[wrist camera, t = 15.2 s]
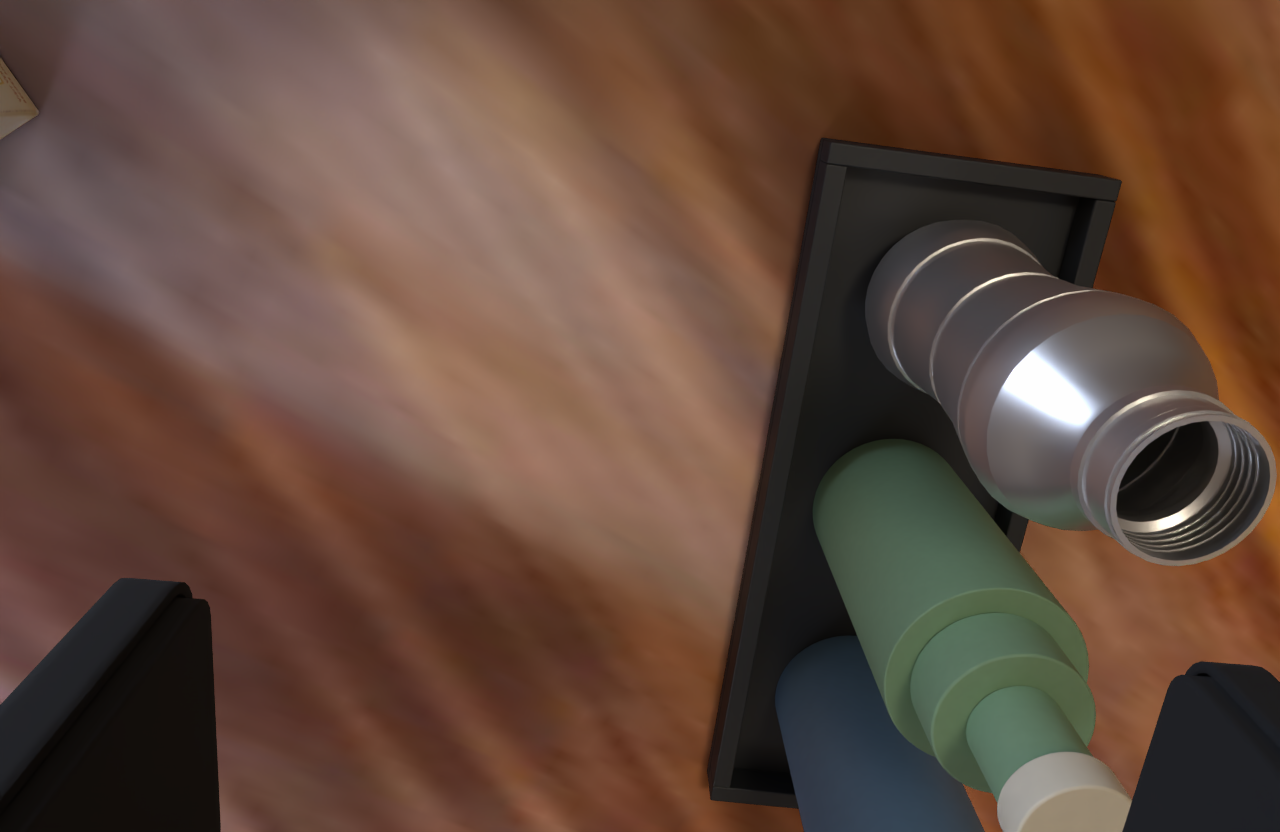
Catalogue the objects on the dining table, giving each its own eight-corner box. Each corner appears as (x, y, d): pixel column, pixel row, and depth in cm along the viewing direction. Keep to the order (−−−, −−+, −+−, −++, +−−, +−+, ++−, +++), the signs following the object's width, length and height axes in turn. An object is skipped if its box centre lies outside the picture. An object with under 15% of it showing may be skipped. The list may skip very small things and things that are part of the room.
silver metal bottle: (1050, 289, 41) (1408, 483, 23) (921, 403, 43) (1155, 676, 24) (947, 174, 40) (1238, 279, 21) (817, 297, 41) (979, 499, 23)
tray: (820, 137, 40) (830, 141, 38) (1098, 174, 41) (1123, 180, 39) (706, 771, 50) (710, 800, 48) (933, 793, 50) (945, 823, 48)
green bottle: (827, 430, 43) (984, 718, 24) (976, 447, 44) (1245, 744, 25) (800, 566, 45) (925, 929, 26) (942, 581, 46) (1166, 951, 27)
